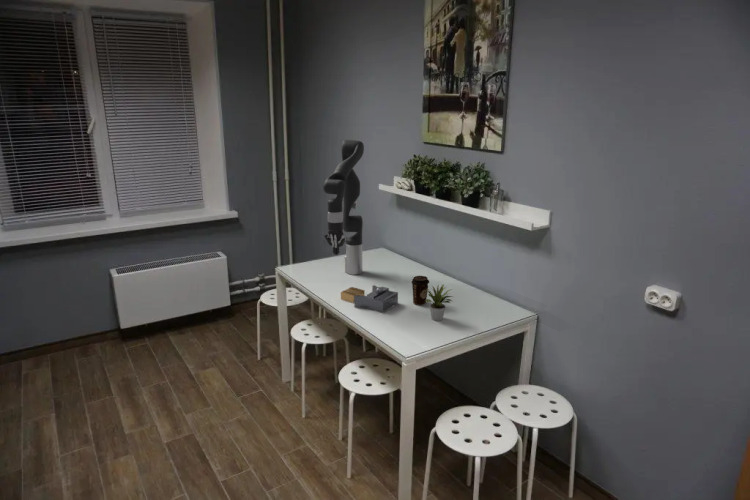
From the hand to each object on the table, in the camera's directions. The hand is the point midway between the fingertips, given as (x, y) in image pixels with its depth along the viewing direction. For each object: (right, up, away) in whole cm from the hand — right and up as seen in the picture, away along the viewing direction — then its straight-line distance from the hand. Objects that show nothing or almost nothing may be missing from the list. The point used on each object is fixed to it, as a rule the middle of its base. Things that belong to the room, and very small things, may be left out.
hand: (336, 254), depth 248 cm
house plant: (+47, -29, -23) cm, 60 cm away
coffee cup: (+41, -24, -5) cm, 48 cm away
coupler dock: (+20, -24, -7) cm, 32 cm away
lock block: (+8, -22, +1) cm, 24 cm away
